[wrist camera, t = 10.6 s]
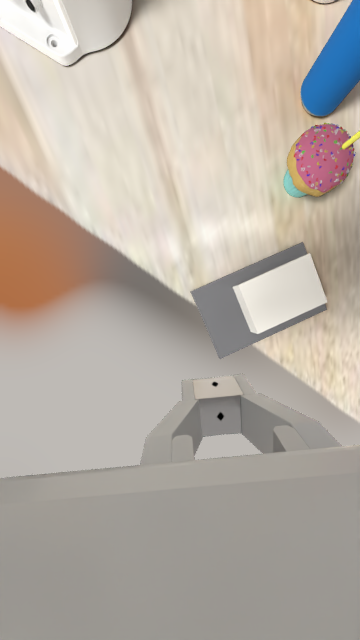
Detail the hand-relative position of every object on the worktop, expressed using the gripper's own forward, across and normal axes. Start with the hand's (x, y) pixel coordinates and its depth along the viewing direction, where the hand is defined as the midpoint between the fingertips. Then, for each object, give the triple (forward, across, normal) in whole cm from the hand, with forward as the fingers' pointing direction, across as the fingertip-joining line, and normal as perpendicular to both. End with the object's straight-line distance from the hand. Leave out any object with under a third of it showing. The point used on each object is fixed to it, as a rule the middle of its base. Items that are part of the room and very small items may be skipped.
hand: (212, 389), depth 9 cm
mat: (+23, -12, 0) cm, 26 cm away
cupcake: (+26, -20, -18) cm, 37 cm away
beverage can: (+29, -24, -30) cm, 48 cm away
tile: (+20, -9, +1) cm, 22 cm away
